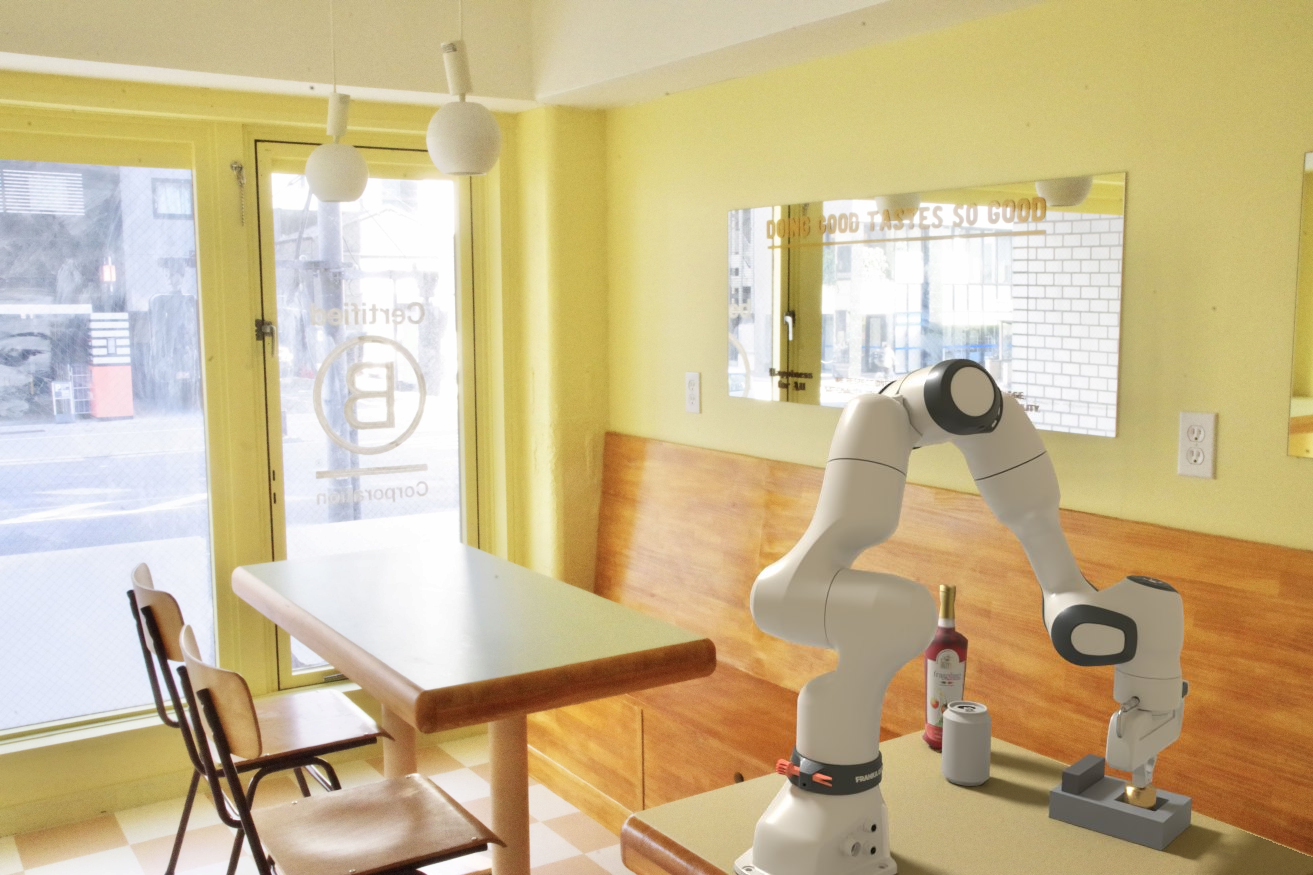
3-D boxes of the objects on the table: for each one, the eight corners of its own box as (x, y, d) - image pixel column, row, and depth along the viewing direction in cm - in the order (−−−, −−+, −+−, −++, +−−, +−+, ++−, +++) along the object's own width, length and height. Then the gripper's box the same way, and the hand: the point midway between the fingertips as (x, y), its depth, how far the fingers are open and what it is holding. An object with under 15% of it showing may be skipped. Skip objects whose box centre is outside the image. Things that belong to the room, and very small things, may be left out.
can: (984, 771, 185) (987, 699, 184) (993, 789, 177) (996, 713, 176) (937, 768, 185) (940, 697, 184) (944, 786, 178) (947, 711, 177)
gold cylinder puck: (1148, 835, 161) (1150, 794, 160) (1118, 826, 164) (1120, 786, 163) (1159, 826, 164) (1161, 786, 163) (1129, 818, 167) (1131, 778, 166)
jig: (1161, 850, 156) (1164, 801, 155) (1048, 816, 167) (1050, 770, 166) (1190, 824, 165) (1193, 777, 164) (1081, 793, 176) (1083, 749, 175)
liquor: (923, 752, 193) (928, 589, 191) (918, 737, 200) (923, 581, 198) (967, 754, 192) (973, 591, 190) (960, 739, 199) (966, 582, 197)
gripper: (1143, 711, 152) (1138, 811, 153) (1193, 680, 167) (1188, 771, 168) (1096, 701, 157) (1091, 798, 158) (1149, 671, 172) (1144, 760, 173)
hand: (1142, 784), depth 163 cm, fingers closed
